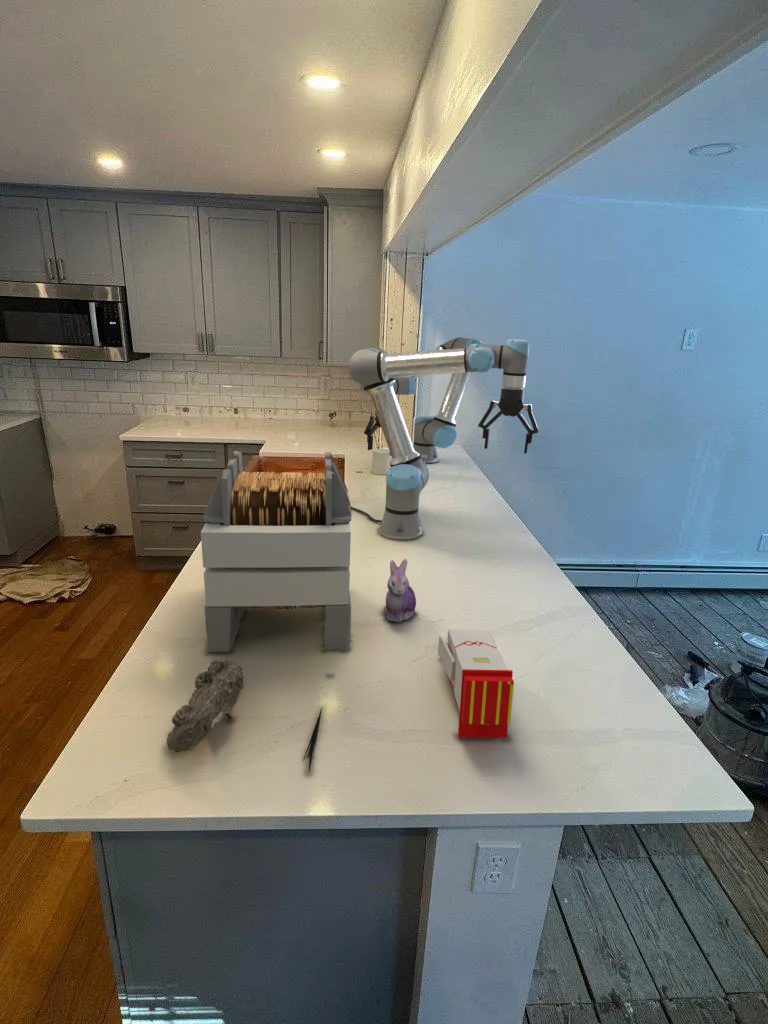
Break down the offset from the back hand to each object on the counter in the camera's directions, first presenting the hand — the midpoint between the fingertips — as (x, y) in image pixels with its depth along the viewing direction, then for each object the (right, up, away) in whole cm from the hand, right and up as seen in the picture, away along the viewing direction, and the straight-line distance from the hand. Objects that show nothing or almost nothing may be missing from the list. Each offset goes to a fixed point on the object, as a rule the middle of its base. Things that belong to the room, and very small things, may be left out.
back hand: (380, 452), depth 270 cm
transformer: (-24, -55, -125) cm, 139 cm away
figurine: (+6, -55, -123) cm, 135 cm away
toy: (+19, -66, -151) cm, 166 cm away
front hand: (+44, -7, -74) cm, 86 cm away
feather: (-11, -68, -161) cm, 176 cm away
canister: (0, -9, +4) cm, 10 cm away
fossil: (-31, -67, -162) cm, 178 cm away
